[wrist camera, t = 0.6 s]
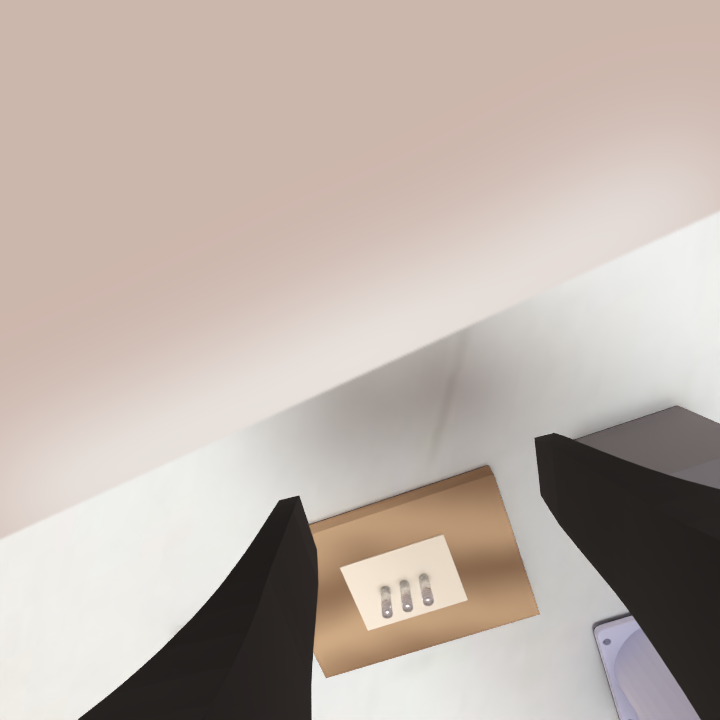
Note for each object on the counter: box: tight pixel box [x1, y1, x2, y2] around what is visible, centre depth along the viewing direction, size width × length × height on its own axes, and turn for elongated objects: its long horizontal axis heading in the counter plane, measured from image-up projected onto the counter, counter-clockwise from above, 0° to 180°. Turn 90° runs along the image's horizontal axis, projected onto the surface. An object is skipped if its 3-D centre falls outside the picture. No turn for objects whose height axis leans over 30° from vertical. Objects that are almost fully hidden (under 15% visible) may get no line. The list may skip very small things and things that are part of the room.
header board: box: [309, 466, 540, 678], centre depth 23 cm, size 10×14×3 cm
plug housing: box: [575, 406, 720, 489], centre depth 21 cm, size 4×6×5 cm, turn 111°
